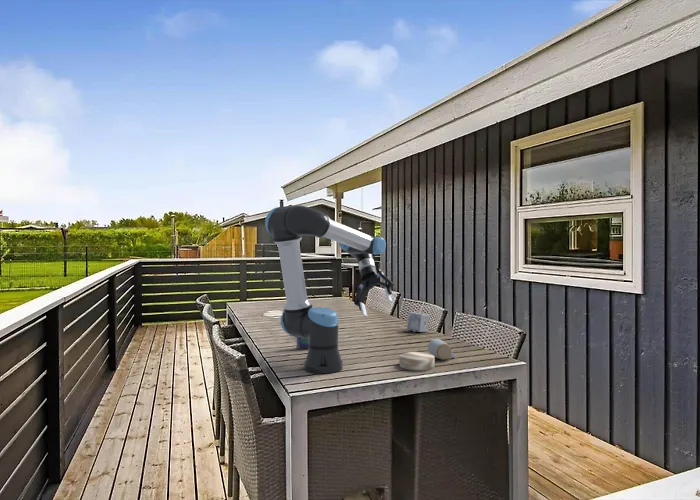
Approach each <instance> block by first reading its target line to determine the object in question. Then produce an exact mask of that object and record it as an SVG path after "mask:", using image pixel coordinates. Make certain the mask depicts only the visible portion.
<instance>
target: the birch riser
mask: <svg viewBox="0 0 700 500" xmlns="http://www.w3.org/2000/svg"><path fill="white" fill-rule="evenodd" d="M398 358H399V359H398V360H399V367H400V368H402V369H404V370H409V371H428V370H431V369H434V368H435V366H436V365H435V362H436V361H435V360H436V359H435V358H436V357H434V355H432V354H430V353H429V352H424V351H423V352H421V351H420V352H419V351H408V352H403V353H400V354H399V357H398Z"/></svg>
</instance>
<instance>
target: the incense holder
mask: <svg viewBox="0 0 700 500" xmlns="http://www.w3.org/2000/svg"><path fill="white" fill-rule="evenodd" d="M430 318H431V315H430V314H428V313H427V314H426V313H420V312H415V311H408V315H407V324H406V329H407V330H409V331H413V333H416V332H419V333H429V332H430V329H429V320H430Z"/></svg>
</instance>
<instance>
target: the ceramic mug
mask: <svg viewBox="0 0 700 500" xmlns="http://www.w3.org/2000/svg"><path fill="white" fill-rule="evenodd" d="M427 350H428V353H429V354H432V355H434V357H435V358H437V360H442V361H444V360H447V359H449V358H450V357H451V358H453V359H454V358H455V357H456V354H455V353H454V352H452V348H451V346H450V345H449V344H448V343H446V342H445V341H444V340H441V339H440V338H433V339H431V340H430V341H429V343H428V346H427Z"/></svg>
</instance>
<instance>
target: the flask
mask: <svg viewBox="0 0 700 500" xmlns="http://www.w3.org/2000/svg"><path fill="white" fill-rule="evenodd" d="M296 349H299V350H308V349H309V339H305V338H301V337H296Z"/></svg>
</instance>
